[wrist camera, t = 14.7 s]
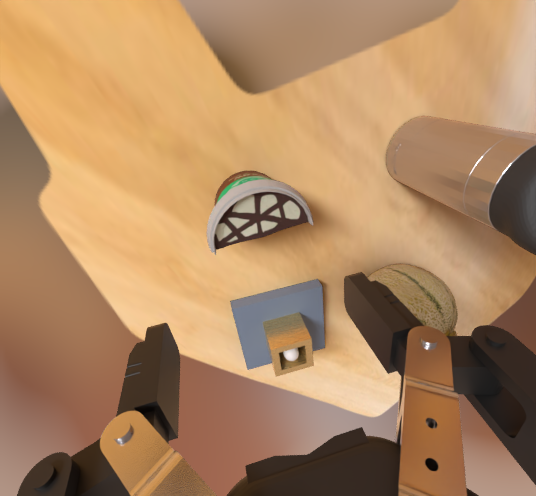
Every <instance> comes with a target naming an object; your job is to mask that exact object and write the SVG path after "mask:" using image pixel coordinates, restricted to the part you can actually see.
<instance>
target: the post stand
mask: <svg viewBox="0 0 536 496" xmlns="http://www.w3.org/2000/svg"><path fill="white" fill-rule="evenodd" d="M230 302H231V307H232V312H233V316H234V319H235V323H236V327H237V331H238V335H239V339H240V342H241V346H242V350H243V354H244V358H245V362H246V365H247V369H248V370H249V369H252V368H256V367H259V366H263V365H266V364H270V363H272V361H271V358H270V354H269V351H268V348H267V343H266V337H265V332H264V327H263V322H264V321H268V320H272V319H275V318H279V317H283V316H286V315H290V314H294V313H298V312H299V313H300V315H301V317H302V319H303V321H304V324H305V326H306V328H307V330H308V332H309V334H310V336H311V338H312V350H313V351H316V350H319V349H323V348H325V337H324V315H323V292H322V285H321V283H320V282H319V280H318V279H316V280H312V281H308V282H304V283H300V284H296V285H292V286H288V287H284V288H280V289H277V290H273V291H269V292H265V293H261V294H257V295H253V296H249V297H245V298H241V299H237V300H233V301H230ZM283 354H284V357H285V358H286V359H287V360H288V361H294V360H296V359H297V358H298V356H299V351H298V348H294V349H291V350H287V351H284V352H283Z"/></svg>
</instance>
